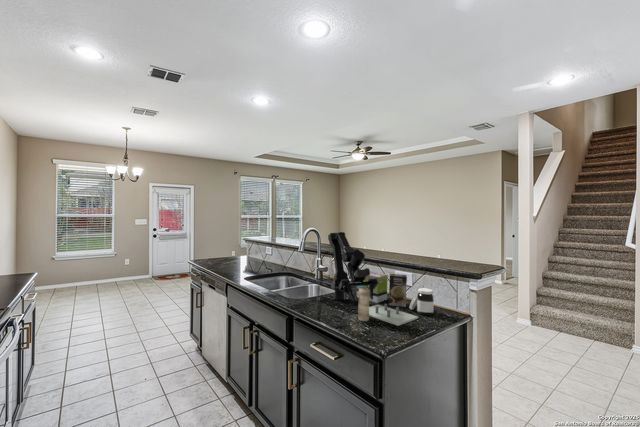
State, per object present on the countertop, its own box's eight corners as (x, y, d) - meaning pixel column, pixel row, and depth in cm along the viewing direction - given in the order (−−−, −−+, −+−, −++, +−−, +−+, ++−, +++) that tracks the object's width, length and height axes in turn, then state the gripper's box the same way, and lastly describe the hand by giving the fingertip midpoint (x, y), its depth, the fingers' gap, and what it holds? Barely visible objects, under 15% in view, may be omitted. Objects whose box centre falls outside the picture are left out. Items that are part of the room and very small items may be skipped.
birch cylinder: (358, 317, 146) (359, 287, 146) (369, 318, 145) (369, 288, 145) (357, 320, 141) (358, 290, 141) (368, 321, 140) (369, 291, 140)
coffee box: (388, 305, 165) (389, 275, 165) (388, 302, 171) (389, 273, 171) (406, 307, 163) (406, 276, 163) (405, 303, 169) (406, 274, 169)
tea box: (355, 297, 179) (356, 272, 179) (366, 294, 186) (366, 270, 186) (377, 303, 169) (378, 276, 169) (387, 300, 176) (388, 274, 176)
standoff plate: (357, 311, 153) (357, 304, 153) (378, 305, 164) (378, 298, 164) (398, 325, 135) (398, 317, 135) (418, 318, 146) (418, 310, 146)
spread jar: (434, 317, 148) (435, 292, 148) (410, 314, 150) (410, 291, 150) (430, 309, 160) (431, 287, 160) (408, 307, 162) (408, 285, 162)
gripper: (341, 262, 146) (349, 291, 135) (376, 262, 151) (387, 289, 141) (335, 276, 154) (342, 304, 143) (369, 274, 159) (379, 302, 148)
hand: (363, 300), depth 143 cm, fingers open, 9 cm apart
